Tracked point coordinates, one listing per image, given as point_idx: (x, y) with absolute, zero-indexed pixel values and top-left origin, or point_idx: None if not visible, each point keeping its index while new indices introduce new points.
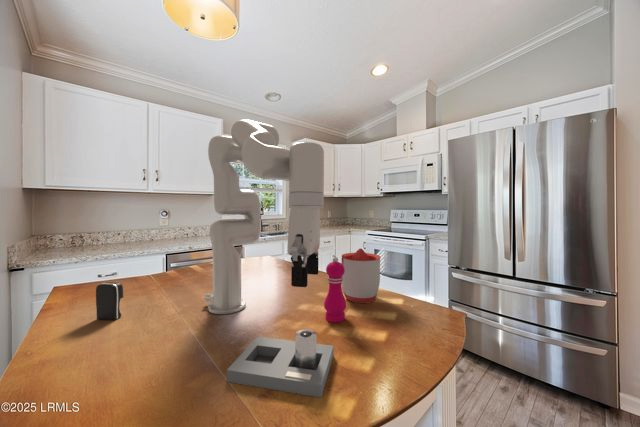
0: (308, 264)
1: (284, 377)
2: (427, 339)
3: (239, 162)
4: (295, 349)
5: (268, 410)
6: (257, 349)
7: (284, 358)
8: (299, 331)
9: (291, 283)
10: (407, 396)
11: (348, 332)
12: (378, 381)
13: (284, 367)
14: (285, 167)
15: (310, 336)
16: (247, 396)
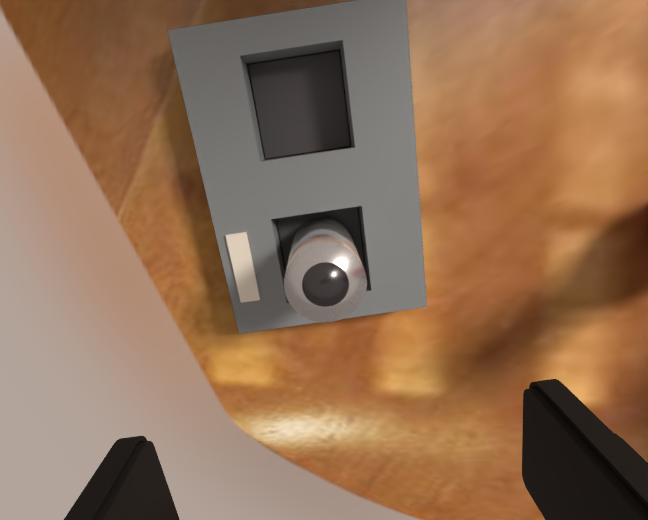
0: (586, 495)
1: (221, 235)
2: None
3: None
4: (302, 238)
5: (154, 224)
6: (341, 44)
7: (303, 188)
8: (336, 253)
9: (110, 450)
10: (323, 467)
11: (574, 297)
12: (349, 414)
13: (261, 212)
14: None
15: (315, 307)
16: (165, 145)
